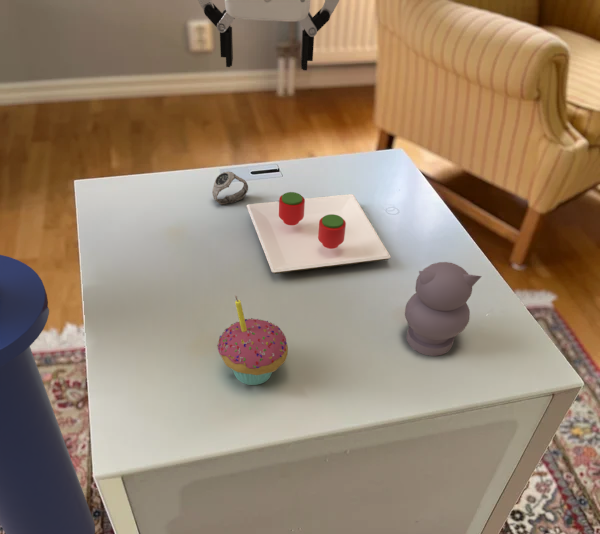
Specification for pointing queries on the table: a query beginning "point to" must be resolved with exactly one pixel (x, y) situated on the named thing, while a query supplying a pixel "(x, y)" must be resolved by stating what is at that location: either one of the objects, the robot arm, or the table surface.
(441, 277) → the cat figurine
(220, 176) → the wristwatch
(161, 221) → the table surface
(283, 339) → the cupcake
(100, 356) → the table surface
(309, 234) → the plate
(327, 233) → the red cylinder green top
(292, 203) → the green-lidded red jar
